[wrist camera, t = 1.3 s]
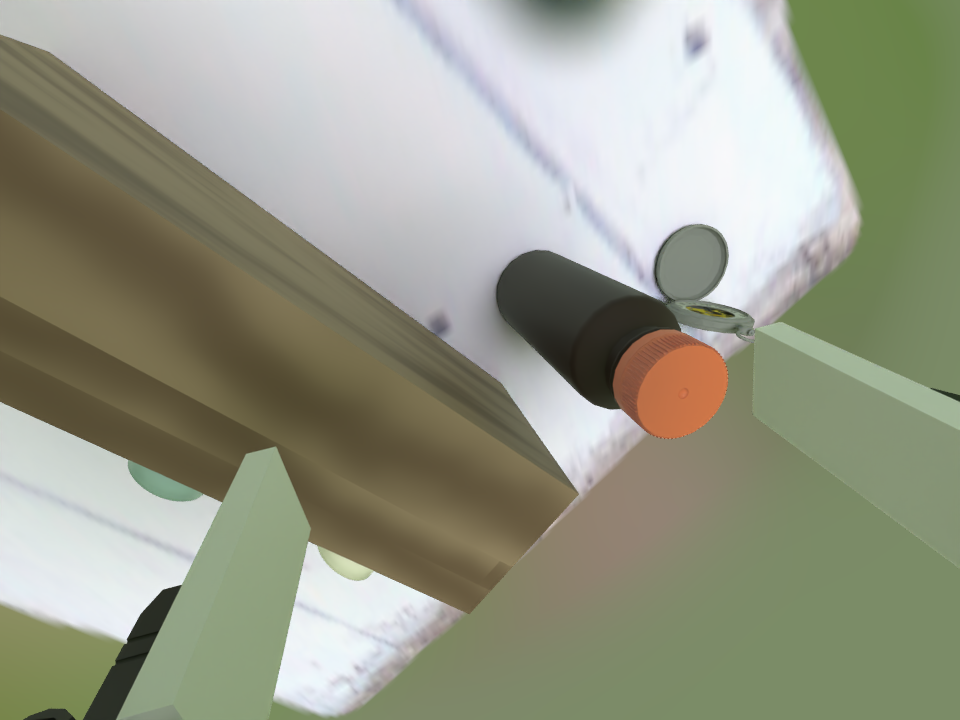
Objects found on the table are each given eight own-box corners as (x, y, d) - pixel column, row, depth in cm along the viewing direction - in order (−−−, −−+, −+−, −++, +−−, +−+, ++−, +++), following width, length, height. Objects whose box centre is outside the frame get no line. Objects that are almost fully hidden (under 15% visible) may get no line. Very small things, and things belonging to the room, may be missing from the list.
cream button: (370, 543, 37) (373, 589, 33) (318, 518, 35) (315, 564, 31) (417, 488, 36) (426, 529, 32) (366, 460, 35) (369, 499, 31)
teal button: (214, 469, 32) (196, 513, 28) (144, 435, 30) (114, 477, 26) (265, 403, 31) (254, 439, 27) (196, 365, 30) (174, 397, 26)
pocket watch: (709, 208, 43) (808, 222, 34) (733, 292, 46) (827, 325, 37) (626, 258, 43) (703, 285, 34) (657, 338, 46) (733, 382, 37)
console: (428, 468, 45) (469, 614, 31) (-40, 193, 30) (-388, 226, 16) (501, 383, 44) (579, 493, 29) (49, 52, 29) (-242, -52, 15)
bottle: (507, 241, 39) (645, 312, 21) (583, 257, 42) (769, 335, 24) (486, 324, 42) (597, 451, 24) (561, 336, 44) (714, 461, 26)
